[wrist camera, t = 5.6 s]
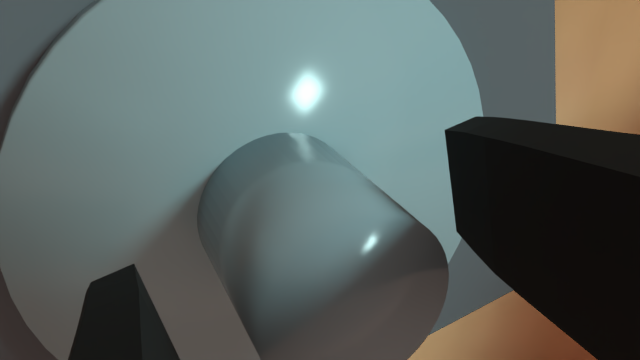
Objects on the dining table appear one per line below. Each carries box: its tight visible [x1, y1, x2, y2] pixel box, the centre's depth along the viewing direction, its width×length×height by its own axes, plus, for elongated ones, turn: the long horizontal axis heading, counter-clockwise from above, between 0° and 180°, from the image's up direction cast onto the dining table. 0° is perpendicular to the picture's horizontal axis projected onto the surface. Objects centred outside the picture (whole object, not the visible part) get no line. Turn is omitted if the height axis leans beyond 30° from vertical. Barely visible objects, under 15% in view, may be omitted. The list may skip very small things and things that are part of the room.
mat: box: [0, 0, 556, 360], centre depth 12 cm, size 14×12×1 cm
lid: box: [0, 0, 483, 360], centre depth 10 cm, size 9×9×4 cm
